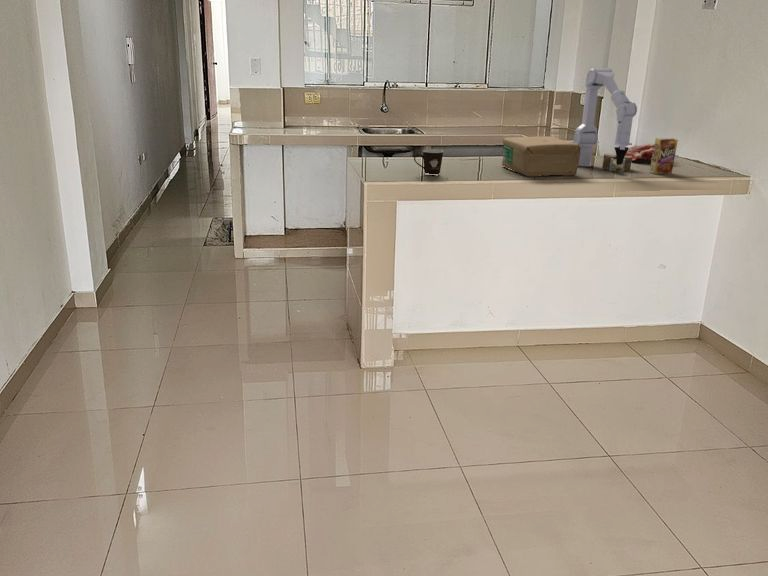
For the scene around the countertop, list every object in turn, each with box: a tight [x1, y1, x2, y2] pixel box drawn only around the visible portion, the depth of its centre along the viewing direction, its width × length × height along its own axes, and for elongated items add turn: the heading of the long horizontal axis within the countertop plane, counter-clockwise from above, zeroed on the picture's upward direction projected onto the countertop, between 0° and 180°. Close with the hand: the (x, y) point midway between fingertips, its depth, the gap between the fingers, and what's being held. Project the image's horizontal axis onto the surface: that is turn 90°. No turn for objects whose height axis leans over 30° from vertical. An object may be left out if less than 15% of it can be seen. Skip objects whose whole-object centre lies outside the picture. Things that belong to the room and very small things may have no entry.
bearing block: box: [601, 153, 633, 172], centre depth 307 cm, size 12×6×6 cm, turn 74°
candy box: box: [649, 137, 679, 175], centre depth 298 cm, size 9×4×15 cm, turn 103°
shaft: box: [612, 160, 624, 173], centre depth 301 cm, size 5×10×5 cm, turn 164°
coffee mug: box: [413, 149, 444, 174], centre depth 285 cm, size 12×9×10 cm
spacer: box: [608, 158, 625, 173], centre depth 303 cm, size 6×2×5 cm, turn 74°
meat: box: [625, 142, 655, 161], centre depth 329 cm, size 21×21×10 cm
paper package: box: [501, 135, 581, 177], centre depth 297 cm, size 27×26×14 cm
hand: (619, 164), depth 290 cm, fingers closed
